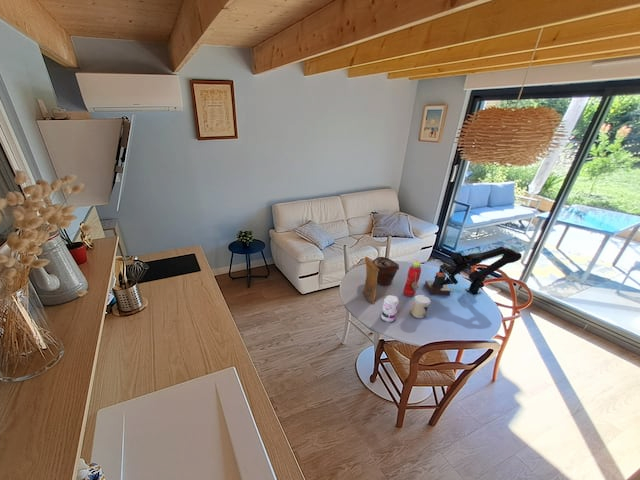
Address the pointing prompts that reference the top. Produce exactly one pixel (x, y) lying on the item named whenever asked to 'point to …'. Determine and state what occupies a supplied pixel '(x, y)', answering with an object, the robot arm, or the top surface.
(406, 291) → the water bottle
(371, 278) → the pancake mix bag
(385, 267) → the brown flower pot
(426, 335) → the top surface
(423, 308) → the coffee cup
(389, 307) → the supplement can
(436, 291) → the base pad
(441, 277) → the pad post
